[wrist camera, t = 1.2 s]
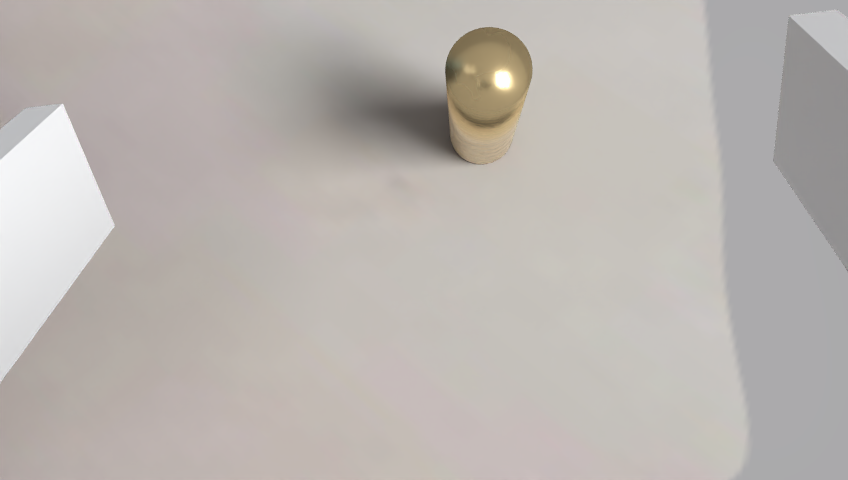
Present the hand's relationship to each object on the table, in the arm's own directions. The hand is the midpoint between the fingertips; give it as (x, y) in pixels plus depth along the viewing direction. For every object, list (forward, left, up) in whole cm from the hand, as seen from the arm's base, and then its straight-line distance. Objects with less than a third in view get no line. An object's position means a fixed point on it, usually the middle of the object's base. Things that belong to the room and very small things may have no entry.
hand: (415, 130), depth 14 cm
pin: (+1, +6, -25) cm, 26 cm away
